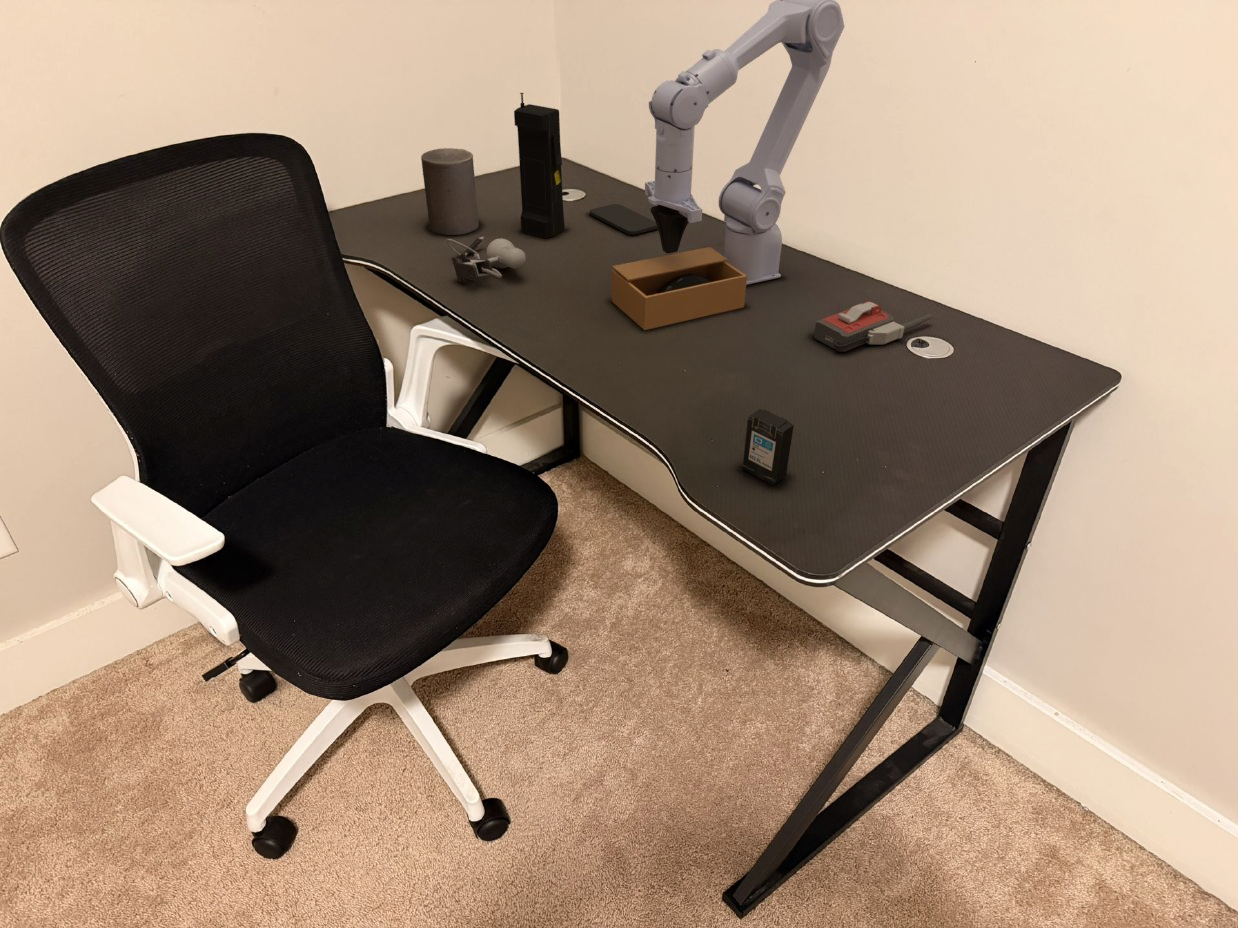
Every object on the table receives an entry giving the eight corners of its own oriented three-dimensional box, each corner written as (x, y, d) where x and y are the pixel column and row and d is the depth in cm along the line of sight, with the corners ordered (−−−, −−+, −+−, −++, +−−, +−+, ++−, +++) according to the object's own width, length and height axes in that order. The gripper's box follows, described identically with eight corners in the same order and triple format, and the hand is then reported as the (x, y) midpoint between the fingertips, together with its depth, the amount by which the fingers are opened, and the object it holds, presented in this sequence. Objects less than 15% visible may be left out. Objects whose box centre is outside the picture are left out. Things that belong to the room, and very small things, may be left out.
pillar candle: (419, 231, 167) (409, 152, 158) (446, 215, 174) (438, 138, 166) (463, 239, 164) (455, 158, 155) (488, 222, 172) (482, 144, 163)
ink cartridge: (741, 469, 106) (747, 414, 101) (752, 461, 107) (759, 406, 102) (774, 486, 103) (782, 430, 98) (785, 478, 104) (794, 423, 99)
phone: (617, 203, 178) (661, 224, 168) (617, 207, 179) (661, 228, 169) (587, 210, 175) (630, 232, 165) (587, 214, 175) (630, 236, 165)
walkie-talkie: (847, 362, 127) (935, 326, 136) (852, 335, 124) (941, 301, 134) (804, 339, 133) (891, 306, 142) (808, 312, 130) (896, 281, 140)
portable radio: (571, 230, 168) (567, 94, 153) (552, 240, 164) (547, 101, 149) (538, 222, 171) (532, 88, 157) (519, 232, 167) (511, 95, 153)
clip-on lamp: (439, 274, 158) (473, 291, 143) (429, 240, 155) (462, 253, 140) (498, 256, 162) (536, 270, 147) (489, 222, 159) (527, 233, 145)
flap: (628, 281, 136) (628, 279, 135) (612, 267, 139) (612, 266, 139) (727, 260, 142) (727, 259, 142) (709, 248, 146) (709, 246, 146)
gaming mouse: (630, 306, 140) (631, 283, 138) (699, 284, 148) (701, 262, 145) (655, 321, 136) (655, 297, 134) (724, 297, 143) (726, 274, 141)
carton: (644, 330, 135) (645, 297, 132) (611, 301, 143) (611, 270, 140) (744, 307, 142) (747, 275, 138) (707, 280, 150) (709, 250, 147)
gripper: (628, 157, 136) (627, 240, 144) (675, 184, 126) (671, 272, 134) (667, 151, 139) (664, 233, 147) (716, 177, 129) (710, 264, 137)
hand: (670, 251), depth 141 cm, fingers closed
